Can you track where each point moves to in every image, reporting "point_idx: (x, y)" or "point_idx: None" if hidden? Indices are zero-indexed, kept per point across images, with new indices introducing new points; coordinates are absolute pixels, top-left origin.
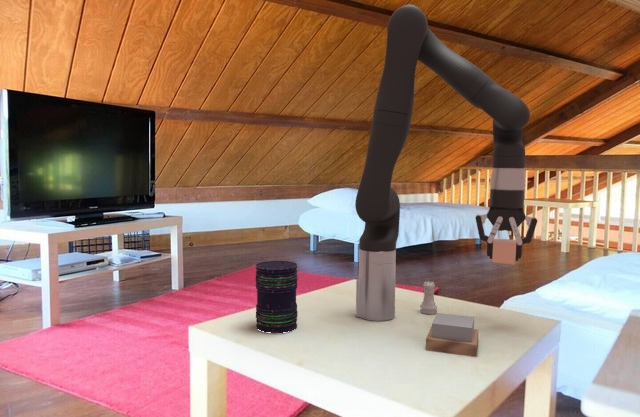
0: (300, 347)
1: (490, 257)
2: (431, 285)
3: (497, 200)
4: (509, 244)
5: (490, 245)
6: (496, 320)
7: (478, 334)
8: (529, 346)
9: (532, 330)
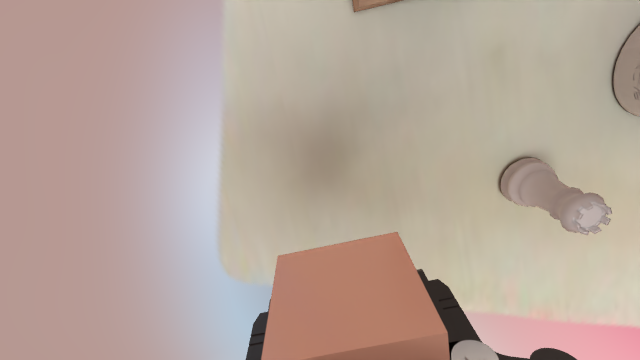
0: None
1: (418, 271)
2: (578, 205)
3: None
4: (312, 341)
5: (452, 329)
6: (345, 208)
7: (356, 4)
8: (223, 43)
9: (250, 179)
